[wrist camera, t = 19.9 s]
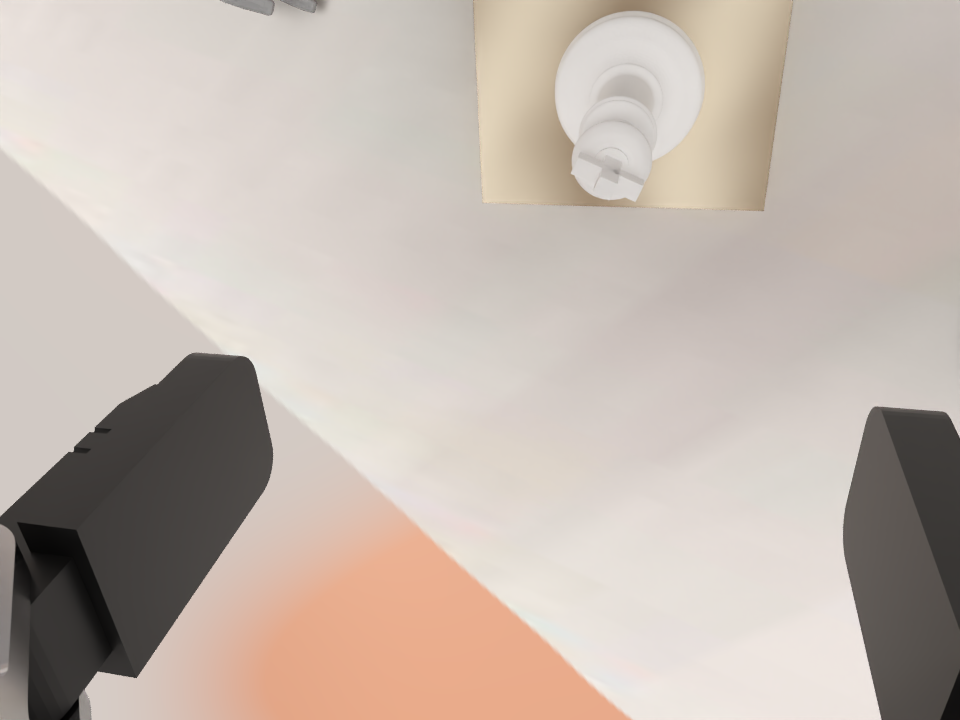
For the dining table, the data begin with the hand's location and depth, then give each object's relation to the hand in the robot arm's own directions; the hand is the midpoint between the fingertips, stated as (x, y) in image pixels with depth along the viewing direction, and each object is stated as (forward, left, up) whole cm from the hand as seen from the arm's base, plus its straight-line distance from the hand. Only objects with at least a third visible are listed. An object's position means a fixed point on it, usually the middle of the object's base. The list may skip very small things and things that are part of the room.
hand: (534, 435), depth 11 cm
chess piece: (0, 0, -20) cm, 20 cm away
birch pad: (0, 0, -21) cm, 21 cm away
